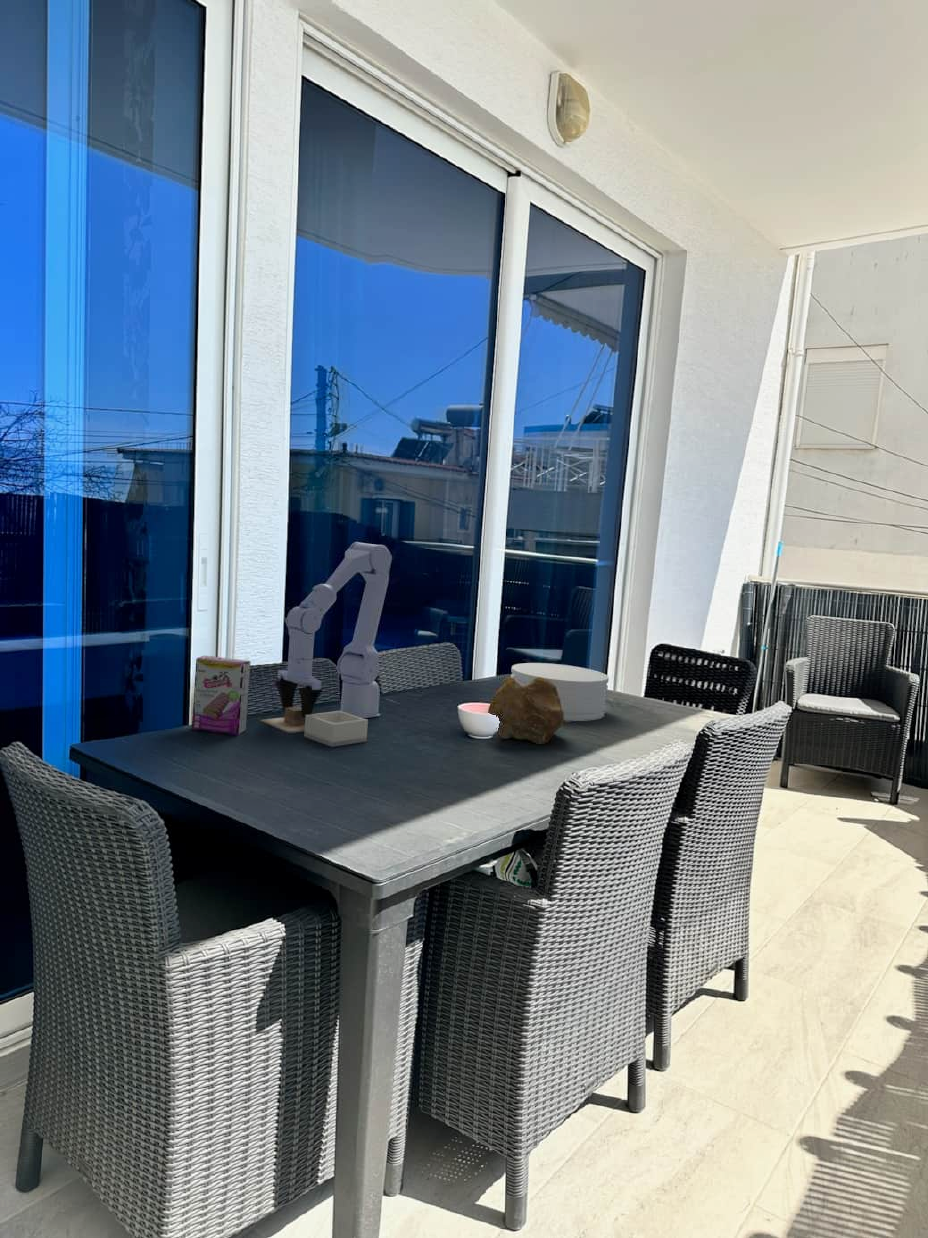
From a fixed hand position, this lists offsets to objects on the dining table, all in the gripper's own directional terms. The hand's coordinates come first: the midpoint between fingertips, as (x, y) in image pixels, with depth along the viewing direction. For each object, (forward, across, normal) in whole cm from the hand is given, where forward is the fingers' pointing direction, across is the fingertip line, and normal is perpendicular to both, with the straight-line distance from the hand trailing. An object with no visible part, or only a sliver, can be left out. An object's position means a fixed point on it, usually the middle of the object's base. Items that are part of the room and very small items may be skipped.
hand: (296, 713), depth 210 cm
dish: (+3, +15, 0) cm, 15 cm away
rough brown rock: (+3, +37, +44) cm, 58 cm away
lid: (+3, 0, 0) cm, 3 cm away
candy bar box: (+3, -3, -19) cm, 19 cm away
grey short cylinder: (+3, +19, +78) cm, 81 cm away
